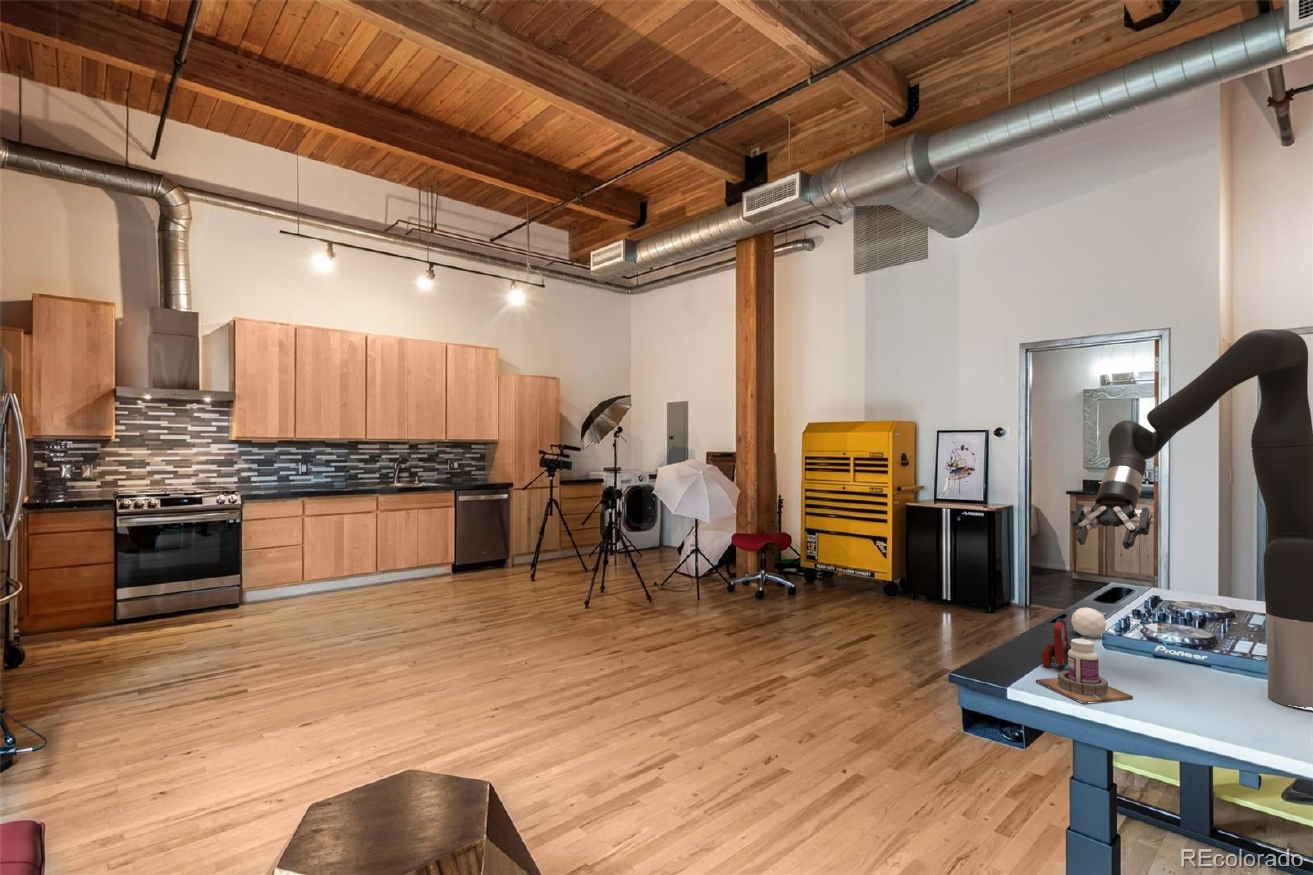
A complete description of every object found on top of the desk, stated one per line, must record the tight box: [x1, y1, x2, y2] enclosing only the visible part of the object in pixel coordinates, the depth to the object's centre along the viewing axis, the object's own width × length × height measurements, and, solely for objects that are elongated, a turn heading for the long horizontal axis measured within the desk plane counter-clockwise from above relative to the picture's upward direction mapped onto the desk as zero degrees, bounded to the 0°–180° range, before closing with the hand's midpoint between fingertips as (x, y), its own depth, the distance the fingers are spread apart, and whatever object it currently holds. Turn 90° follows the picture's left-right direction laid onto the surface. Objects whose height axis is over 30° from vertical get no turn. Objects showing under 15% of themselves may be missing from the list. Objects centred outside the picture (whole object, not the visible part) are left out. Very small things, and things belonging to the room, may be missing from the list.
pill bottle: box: [1067, 638, 1100, 684], centre depth 132 cm, size 5×5×10 cm
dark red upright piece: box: [1041, 618, 1072, 668], centre depth 147 cm, size 7×12×10 cm, turn 140°
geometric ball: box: [1071, 607, 1107, 639], centre depth 169 cm, size 8×8×8 cm
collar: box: [1035, 670, 1134, 703], centre depth 132 cm, size 12×12×3 cm
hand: (1102, 544), depth 138 cm, fingers open, 8 cm apart
